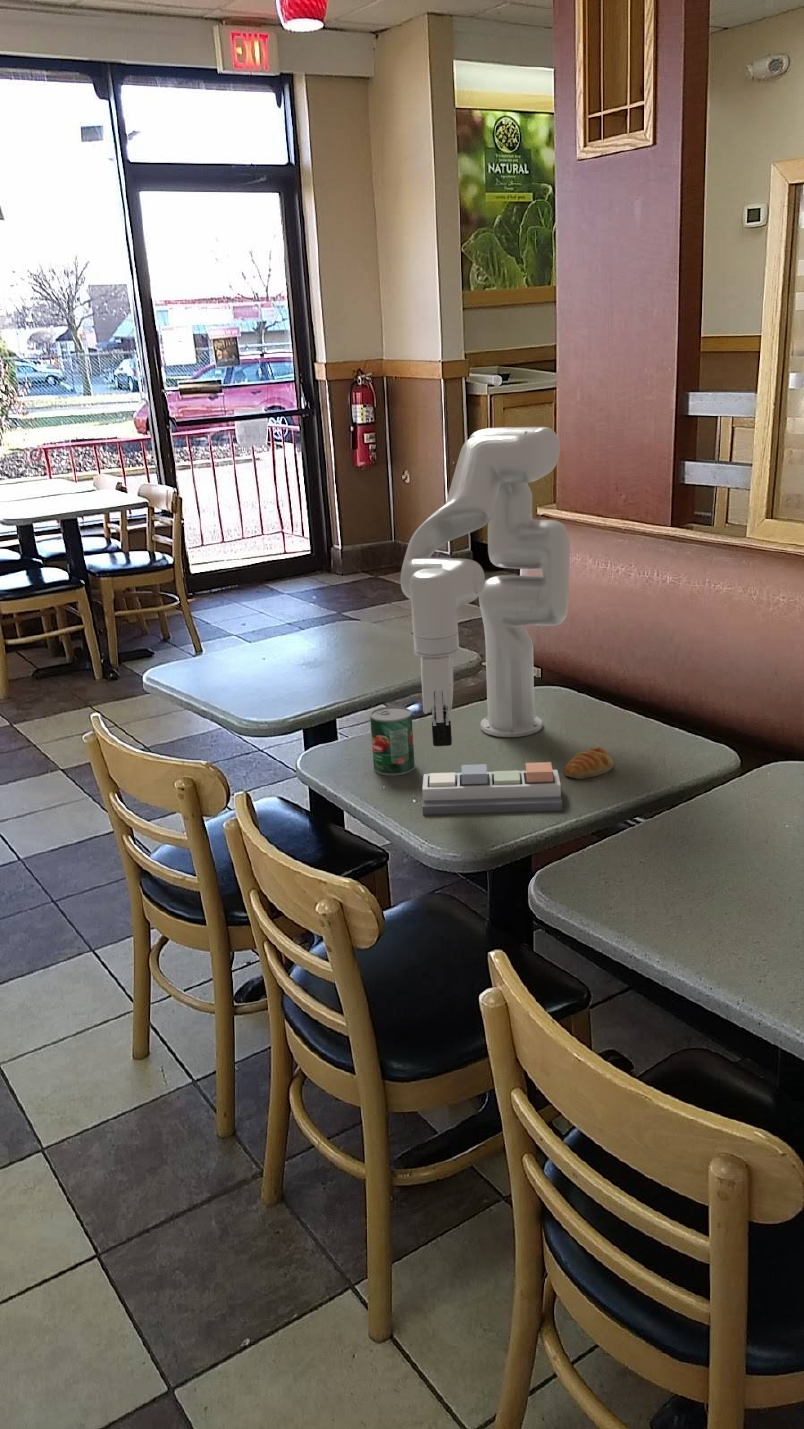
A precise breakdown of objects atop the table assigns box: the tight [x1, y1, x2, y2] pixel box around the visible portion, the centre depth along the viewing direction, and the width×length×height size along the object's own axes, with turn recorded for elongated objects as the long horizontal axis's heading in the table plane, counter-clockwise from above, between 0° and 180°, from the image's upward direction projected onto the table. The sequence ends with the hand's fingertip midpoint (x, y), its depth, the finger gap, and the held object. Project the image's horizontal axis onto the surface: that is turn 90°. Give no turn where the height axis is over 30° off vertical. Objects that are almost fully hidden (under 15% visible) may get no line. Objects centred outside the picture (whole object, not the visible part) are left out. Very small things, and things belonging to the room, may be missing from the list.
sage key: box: [493, 770, 520, 785], centre depth 192 cm, size 4×4×2 cm
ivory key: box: [429, 772, 456, 787], centre depth 192 cm, size 4×4×2 cm
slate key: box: [461, 763, 488, 784], centre depth 192 cm, size 4×4×2 cm
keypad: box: [421, 769, 563, 816], centre depth 192 cm, size 12×24×4 cm, turn 87°
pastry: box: [564, 747, 614, 780], centre depth 202 cm, size 9×7×4 cm
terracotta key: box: [525, 761, 554, 782], centre depth 191 cm, size 4×4×2 cm
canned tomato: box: [369, 706, 416, 776], centre depth 207 cm, size 8×8×11 cm
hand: (442, 744), depth 191 cm, fingers closed
